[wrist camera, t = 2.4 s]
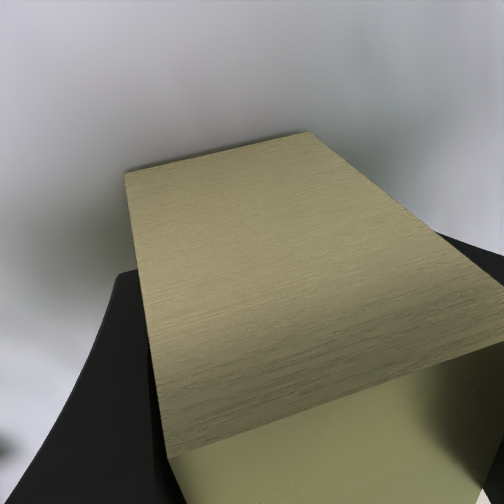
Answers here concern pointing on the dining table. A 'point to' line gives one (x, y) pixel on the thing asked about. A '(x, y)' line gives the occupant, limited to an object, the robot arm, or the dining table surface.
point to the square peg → (313, 334)
